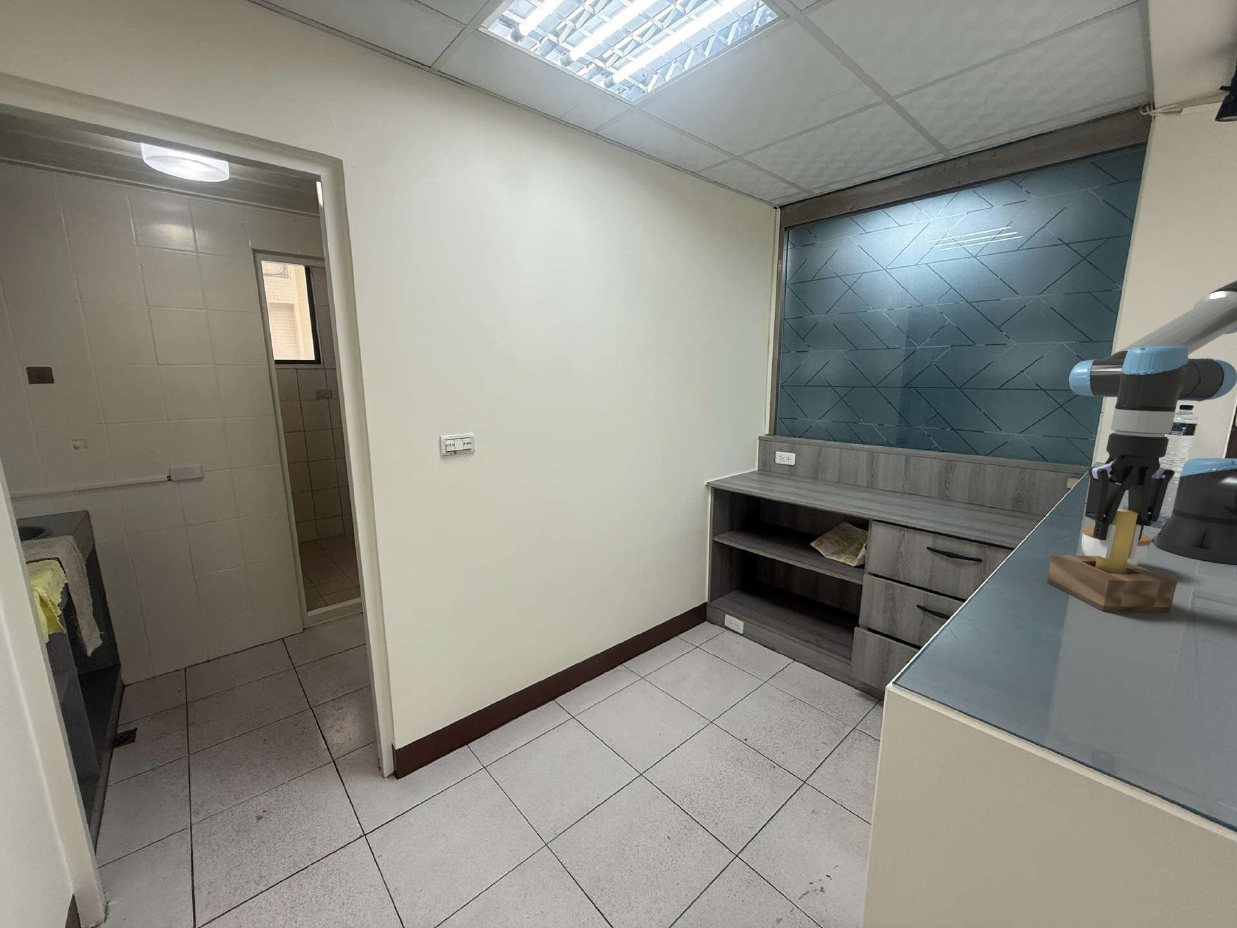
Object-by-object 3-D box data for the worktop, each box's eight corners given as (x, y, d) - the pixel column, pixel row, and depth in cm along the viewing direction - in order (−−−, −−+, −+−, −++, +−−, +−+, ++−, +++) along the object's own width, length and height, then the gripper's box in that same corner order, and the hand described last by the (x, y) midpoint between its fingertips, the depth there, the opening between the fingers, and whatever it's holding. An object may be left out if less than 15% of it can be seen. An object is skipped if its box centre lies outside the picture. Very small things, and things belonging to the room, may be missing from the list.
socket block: (1106, 583, 100) (1112, 556, 99) (1169, 612, 88) (1177, 581, 87) (1046, 582, 100) (1051, 555, 99) (1102, 611, 88) (1108, 580, 87)
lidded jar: (1113, 557, 114) (1121, 519, 113) (1158, 576, 104) (1168, 534, 102) (1064, 555, 115) (1071, 517, 114) (1103, 574, 105) (1112, 532, 103)
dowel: (1107, 577, 96) (1122, 508, 93) (1128, 586, 92) (1144, 514, 89) (1086, 576, 96) (1101, 508, 93) (1106, 585, 92) (1122, 514, 89)
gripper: (1164, 431, 92) (1137, 549, 96) (1072, 430, 92) (1050, 548, 97) (1210, 437, 84) (1180, 564, 89) (1111, 435, 85) (1085, 562, 89)
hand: (1112, 555), depth 93 cm, fingers closed on dowel, 4 cm apart
